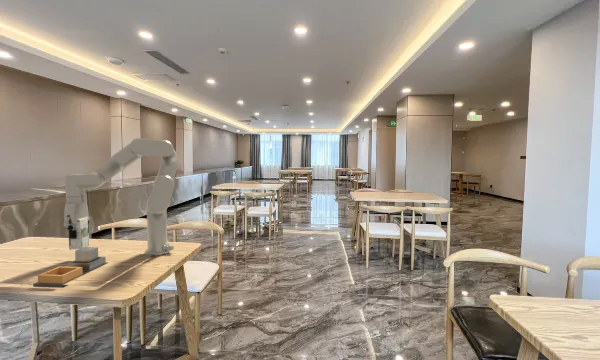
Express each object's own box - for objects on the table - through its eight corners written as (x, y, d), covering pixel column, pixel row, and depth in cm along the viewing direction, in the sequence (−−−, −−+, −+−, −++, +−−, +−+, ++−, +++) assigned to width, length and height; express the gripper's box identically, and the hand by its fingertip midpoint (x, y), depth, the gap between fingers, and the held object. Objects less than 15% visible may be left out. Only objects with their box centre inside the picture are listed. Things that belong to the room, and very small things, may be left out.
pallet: (84, 264, 141) (84, 255, 141) (109, 265, 141) (109, 256, 141) (33, 286, 115) (32, 276, 115) (63, 287, 115) (62, 277, 115)
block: (98, 264, 138) (98, 247, 137) (88, 268, 132) (88, 251, 131) (85, 264, 138) (85, 247, 138) (75, 268, 132) (75, 250, 132)
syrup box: (77, 246, 147) (75, 217, 146) (89, 245, 148) (87, 216, 147) (69, 249, 142) (66, 219, 141) (82, 249, 142) (80, 219, 141)
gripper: (82, 197, 152) (84, 232, 153) (53, 202, 135) (55, 241, 136) (96, 197, 152) (99, 232, 153) (69, 202, 134) (71, 241, 136)
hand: (78, 236), depth 144 cm, fingers closed on syrup box, 6 cm apart
